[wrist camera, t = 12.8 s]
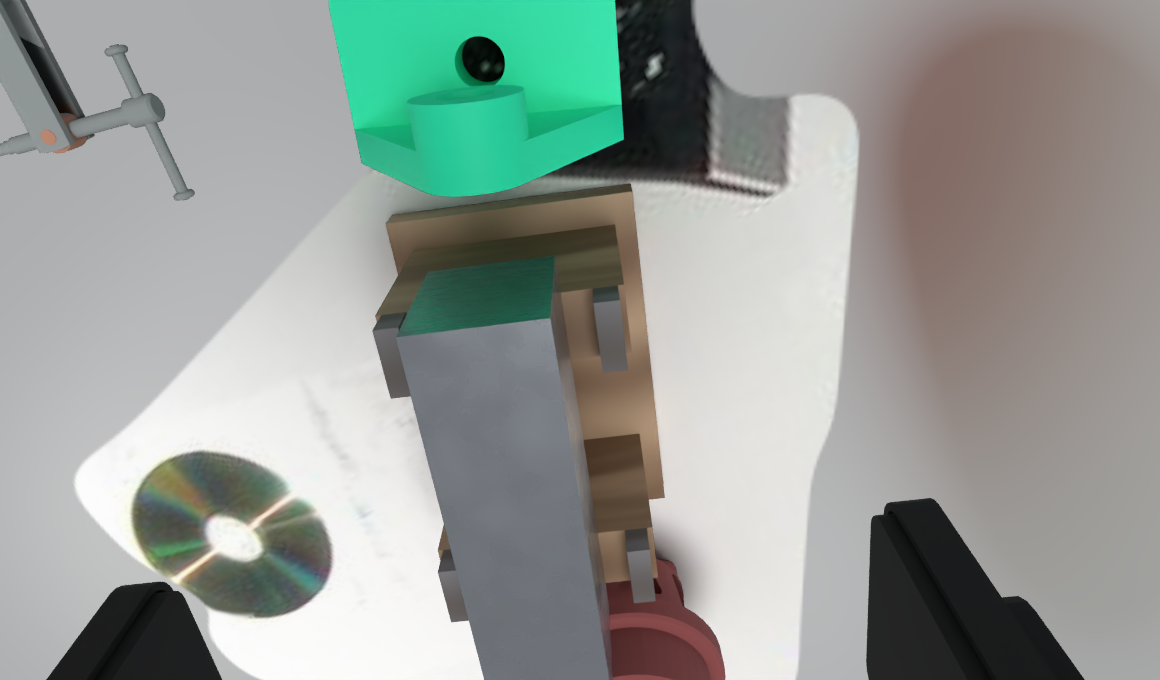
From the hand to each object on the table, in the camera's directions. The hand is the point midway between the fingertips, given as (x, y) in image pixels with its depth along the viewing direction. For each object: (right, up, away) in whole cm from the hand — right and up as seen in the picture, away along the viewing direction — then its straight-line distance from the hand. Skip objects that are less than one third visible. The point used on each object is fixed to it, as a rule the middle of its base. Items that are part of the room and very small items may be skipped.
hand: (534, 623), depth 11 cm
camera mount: (-4, +17, +26) cm, 31 cm away
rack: (-2, +3, +32) cm, 32 cm away
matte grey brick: (-2, -1, +24) cm, 24 cm away
